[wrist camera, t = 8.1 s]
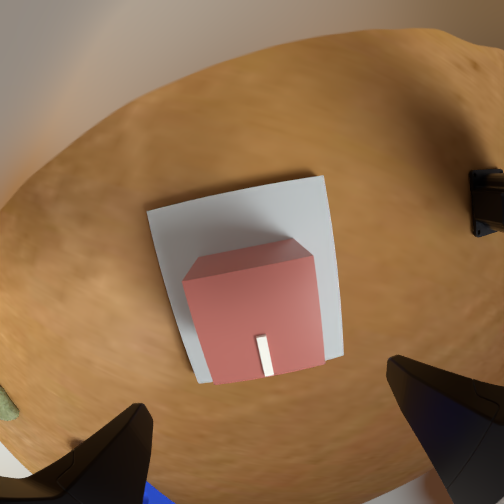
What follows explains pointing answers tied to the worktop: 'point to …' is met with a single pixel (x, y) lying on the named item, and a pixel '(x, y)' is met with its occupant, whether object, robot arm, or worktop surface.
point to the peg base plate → (246, 235)
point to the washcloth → (7, 407)
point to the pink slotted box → (256, 311)
